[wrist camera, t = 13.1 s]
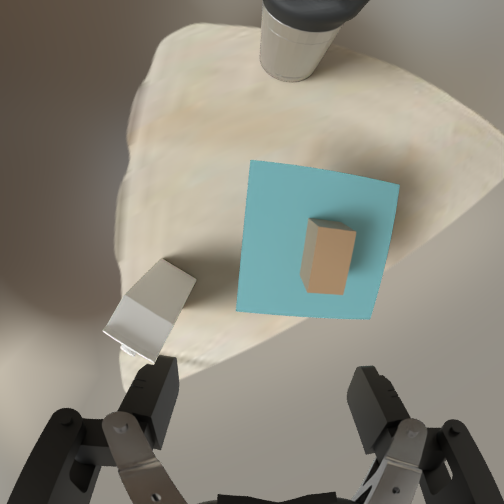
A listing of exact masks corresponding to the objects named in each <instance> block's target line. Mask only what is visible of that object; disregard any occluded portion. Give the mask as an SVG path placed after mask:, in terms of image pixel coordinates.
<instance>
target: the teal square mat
mask: <svg viewBox="0 0 504 504" xmlns="http://www.w3.org/2000/svg"><path fill="white" fill-rule="evenodd" d="M399 187H400V185H398V184H394V183H390V182H385V181H381V180H376V179H372V178H367V177H362V176H357V175H352V174H346V173H341V172H335V171H330V170H324V169H317V168H311V167H304V166H297V165H290V164H282V163H274V162H265V161H256V160H250V170H249V180H248V190H247V199H246V209H245V220H244V230H243V240H242V251H241V261H240V272H239V283H238V294H237V305H236V311H239V312H249V313H260V314H272V315H285V316H299V317H316V318H317V317H318V318H338V319H370V318H371V314H372V311H373V308H374V304H375V301H376V298H377V294H378V290H379V286H380V283H381V279H382V275H383V271H384V267H385V263H386V259H387V254H388V250H389V245H390V240H391V235H392V230H393V225H394V219H395V213H396V207H397V201H398V194H399Z"/></svg>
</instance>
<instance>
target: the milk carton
mask: <svg viewBox="0 0 504 504" xmlns="http://www.w3.org/2000/svg"><path fill="white" fill-rule="evenodd" d="M195 282H196V279H195V278H194V277H192V276H190V275H189V274H187V273H185V272H184V271H182V270H180V269H179V268H177V267H175V266H174V265H172V264H170V263H169V262H167V261H166V260H164V259H162V258H161V259H160V260H159V261H158V262H157V263H156V264H155V265H154V266H153V267H152V268H151V269H150V270H149V271H148V272H147V273H146V274H145V275H144V276H143V277H142V278H141V279H140V280H139V281H138V282H137V283H136V284H135V285H134V286H133V287H132V288H131V289H130V290H129V291H128V292H127V293H126V294H125V295H124V296H123V298H122V300H121V301H120V303H119V305H118V307H117V308H116V310H115V312H114V314H113V315H112V317H111V319H110V321H109V322H108V324H107V326H106V327H105V328H104V329H103V332H104V333H106V334H107V335H109V336H110V337H112V338H113V339H115V340H116V341H118V342H119V343H121V344H122V345H121V347H120V348H121V349H122V350H123V351H125V352H126V353H128V354H129V355H131V356H135V355H136V353H137V354H139V355H140V356H142V357H144V358H146V359H147V360H149V361H151V362H153V363H154V362H155V360H156V358H157V356H158V354H159V352H160V350H161V349H162V347H163V345H164V343H165V341H166V339H167V337H168V335H169V334H170V332H171V330H172V328H173V326H174V324H175V322H176V320H177V318H178V316H179V314H180V312H181V310H182V308H183V306H184V304H185V302H186V300H187V298H188V296H189V294H190V292H191V290H192V288H193V286H194V284H195Z"/></svg>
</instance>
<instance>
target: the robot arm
mask: <svg viewBox="0 0 504 504" xmlns="http://www.w3.org/2000/svg"><path fill="white" fill-rule="evenodd" d="M368 1H369V0H263V5H262V6H263V7H262V26H261V44H260V62H261V64H262V67H263V68H264V69H265V71H266V72H267V73H268V74H269V75H271V76H272V77H274V78H276V79H279V80H281V81H286V82H297V81H301V80H304V79H306V78H307V77H309V76H310V75H311V74H312V73H313V72H314V70H315V68H316V67H317V65H318V64H319V62H320V61H321V59H322V58H323V56H324V54H325V53H326V51H327V50H328V48H329V46H330V45H331V43H332V42H333V40H334V39H335V37H336V35H337V34H338V32H339V31H340V29H341V28H342V26H343V24H344V23H345V22H346V21H348V20H350V19H352V18H353V17H355V16H356V15H357V14H358V13H359V12H360V11H361V9H362V8H363V7H364V6H365V5H366V4H367V3H368ZM178 392H179V376H178V366H177V359H176V357H170V356H164V355H159V356H158V358H157V360H156V362H155V364H154V365H150V364H146V365H145V366H144V367H142V368H141V369H140V370H139V371H138V373H137V375H136V377H135V380H133V382H132V384H131V386H130V388H129V390H128V392H127V394H126V396H125V398H124V399H123V401H122V403H121V405H120V407H119V409H118V411H117V412H112V413H110V414H108V415H107V416H106V417H105V418H104V419H85V418H82V417H81V415H80V414H79V413H78V412H77V411H76V410H74V409H71V408H62V409H59V410H57V411H56V412H55V413H53V415H52V417H51V418H50V420H49V422H48V423H47V425H46V427H45V428H44V430H43V432H42V434H41V435H40V438H39V439H38V441H37V443H36V444H35V446H34V448H33V450H32V452H31V454H30V456H29V458H28V460H27V462H26V464H25V465H24V467H23V470H22V472H21V474H20V476H19V478H18V480H17V482H16V484H15V486H14V489H13V491H12V493H11V495H10V498H9V500H8V502H7V504H89V503H90V499H91V496H92V493H93V490H94V487H95V484H96V481H97V478H98V475H99V472H100V469H101V466H117V468H118V473H119V476H120V478H121V480H122V483H123V485H124V487H125V489H126V491H127V493H128V495H129V497H130V499H131V501H132V503H133V504H187V502H186V501H185V499H184V498H183V496H182V495H181V494H180V492H179V491H178V489H177V488H176V486H175V485H174V483H173V481H172V480H171V479H170V477H169V475H168V474H167V472H166V470H165V469H164V467H163V466H162V464H161V462H160V461H159V460H158V459H157V458H156V456H155V454H154V453H153V449H158V450H161V448H162V445H163V442H164V438H165V435H166V432H167V428H168V425H169V422H170V418H171V415H172V412H173V409H174V406H175V403H176V399H177V396H178ZM347 402H348V405H349V408H350V410H351V413H352V416H353V419H354V422H355V424H356V427H357V430H358V433H359V436H360V439H361V442H362V444H363V448H364V450H365V454H371V453H375V454H376V458H375V459H374V461H373V463H372V465H371V467H370V469H369V471H368V473H367V475H366V477H365V478H364V480H363V482H362V484H361V486H360V488H359V489H358V491H357V492H356V494H355V495H354V496H353V498H352V499H351V500H348V499H344V498H337V497H336V492H329V493H321V494H311V495H306V496H302V497H299V498H296V499H292V500H288V501H284V502H272V501H267V500H262V499H257V498H252V497H248V496H232V495H221V494H218V497H217V500H213V501H207V502H202V503H199V504H411V503H412V500H413V498H414V495H415V492H416V489H417V486H418V484H420V487H421V490H422V492H423V496H424V499H425V502H426V504H504V501H503V498H502V496H501V494H500V491H499V489H498V487H497V485H496V483H495V480H494V478H493V476H492V474H491V472H490V470H489V468H488V466H487V464H486V462H485V460H484V458H483V456H482V455H481V453H480V451H479V449H478V447H477V445H476V444H475V442H474V440H473V438H472V436H471V435H470V433H469V431H468V429H467V428H466V426H465V425H464V424H463V423H462V422H461V421H459V420H454V419H452V420H448V421H446V422H445V423H444V425H443V426H442V428H426V426H425V424H424V423H423V422H421V421H420V420H417V419H414V418H410V416H409V414H408V412H407V410H406V408H405V407H404V405H403V403H402V401H401V399H400V398H399V397H398V394H397V392H396V391H395V389H394V387H393V386H392V384H391V382H390V381H389V380H388V379H387V378H385V377H384V376H383V375H379V374H378V372H377V370H376V368H375V367H374V366H360V367H357V368H356V370H355V373H354V376H353V378H352V381H351V383H350V386H349V389H348V392H347ZM446 460H447V462H448V464H449V466H450V468H451V471H452V473H453V477H452V480H451V477H450V475H449V473H448V470H447V468H446V466H445V463H444V462H445V461H446Z"/></svg>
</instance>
